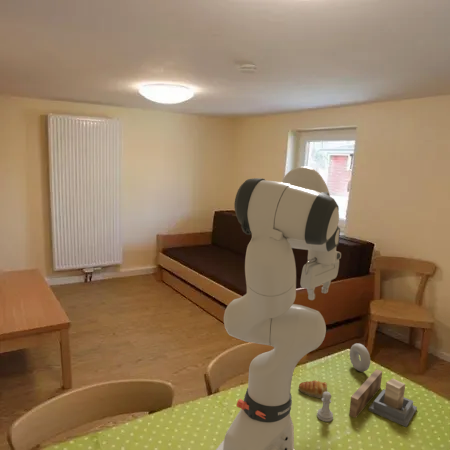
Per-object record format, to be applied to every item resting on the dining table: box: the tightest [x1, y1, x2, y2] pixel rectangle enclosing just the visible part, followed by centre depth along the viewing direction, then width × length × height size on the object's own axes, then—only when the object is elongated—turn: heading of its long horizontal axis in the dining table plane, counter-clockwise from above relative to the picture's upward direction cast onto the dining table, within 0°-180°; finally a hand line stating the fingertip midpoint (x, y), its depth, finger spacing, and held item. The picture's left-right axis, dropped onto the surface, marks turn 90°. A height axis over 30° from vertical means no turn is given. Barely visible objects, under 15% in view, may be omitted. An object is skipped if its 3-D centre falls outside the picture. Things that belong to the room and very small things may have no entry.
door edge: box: [348, 369, 383, 419], centre depth 121 cm, size 22×2×6 cm, turn 139°
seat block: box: [368, 389, 418, 428], centre depth 116 cm, size 11×11×3 cm
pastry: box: [298, 379, 328, 399], centre depth 124 cm, size 9×7×4 cm
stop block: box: [384, 378, 406, 410], centre depth 116 cm, size 4×4×8 cm
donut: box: [349, 342, 371, 373], centre depth 139 cm, size 10×4×10 cm, turn 16°
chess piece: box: [316, 391, 334, 423], centre depth 111 cm, size 5×5×8 cm
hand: (318, 295), depth 126 cm, fingers open, 8 cm apart
